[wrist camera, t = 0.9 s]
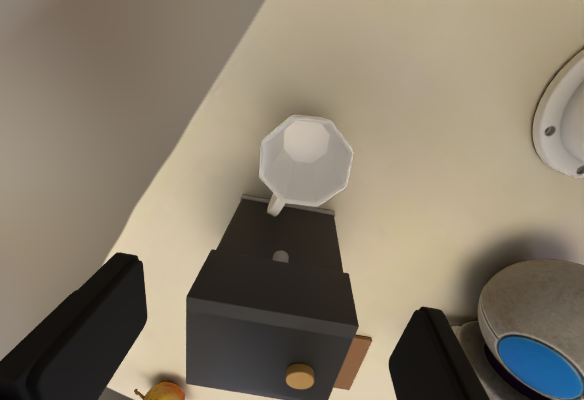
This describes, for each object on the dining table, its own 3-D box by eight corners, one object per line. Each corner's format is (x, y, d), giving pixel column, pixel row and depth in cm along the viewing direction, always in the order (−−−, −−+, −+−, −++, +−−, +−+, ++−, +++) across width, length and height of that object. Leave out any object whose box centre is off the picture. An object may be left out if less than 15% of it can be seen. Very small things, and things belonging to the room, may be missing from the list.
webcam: (595, 397, 30) (707, 298, 24) (582, 492, 22) (746, 382, 16) (471, 314, 39) (529, 224, 32) (431, 361, 31) (496, 254, 24)
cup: (357, 123, 26) (375, 146, 18) (304, 205, 30) (303, 250, 23) (291, 84, 25) (283, 92, 17) (246, 175, 29) (225, 212, 21)
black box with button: (243, 186, 29) (179, 304, 15) (336, 203, 30) (362, 336, 15) (236, 250, 33) (180, 393, 19) (319, 264, 33) (327, 417, 19)
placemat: (315, 328, 38) (315, 331, 38) (371, 337, 38) (372, 340, 38) (299, 378, 44) (299, 381, 43) (348, 386, 44) (349, 390, 43)
